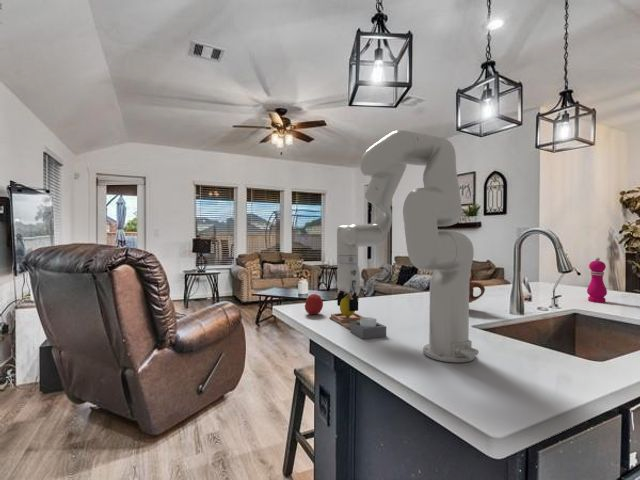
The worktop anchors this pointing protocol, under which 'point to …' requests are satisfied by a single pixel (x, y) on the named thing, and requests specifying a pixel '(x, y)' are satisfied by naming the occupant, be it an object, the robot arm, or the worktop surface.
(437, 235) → the robot arm
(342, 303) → the lemon
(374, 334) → the housing
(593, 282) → the pepper mill
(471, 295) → the brown mug
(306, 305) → the tomato
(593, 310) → the worktop surface
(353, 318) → the board
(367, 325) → the dome
